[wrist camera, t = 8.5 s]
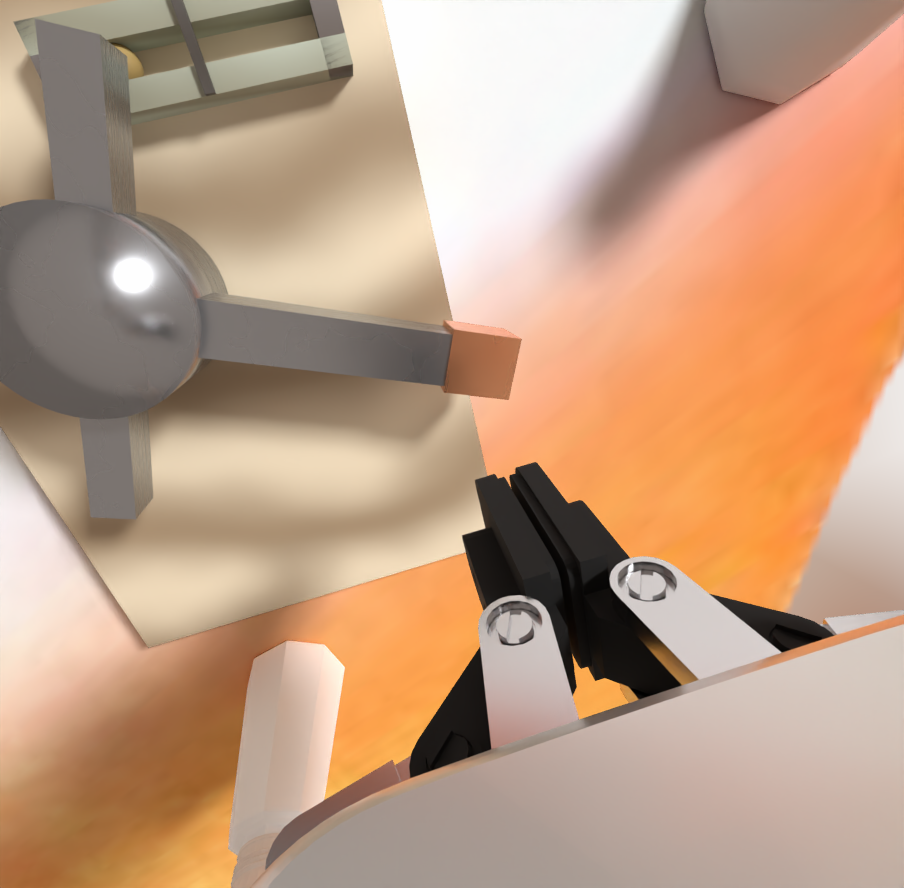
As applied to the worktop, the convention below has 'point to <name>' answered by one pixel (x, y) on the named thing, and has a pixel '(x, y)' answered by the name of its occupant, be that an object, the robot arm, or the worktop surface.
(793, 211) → the worktop surface
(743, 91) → the flask
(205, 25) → the wooden flat board
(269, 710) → the pepper shaker
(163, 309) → the capstan
